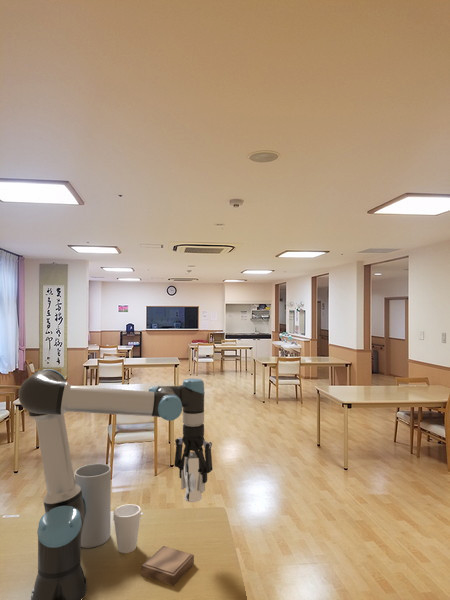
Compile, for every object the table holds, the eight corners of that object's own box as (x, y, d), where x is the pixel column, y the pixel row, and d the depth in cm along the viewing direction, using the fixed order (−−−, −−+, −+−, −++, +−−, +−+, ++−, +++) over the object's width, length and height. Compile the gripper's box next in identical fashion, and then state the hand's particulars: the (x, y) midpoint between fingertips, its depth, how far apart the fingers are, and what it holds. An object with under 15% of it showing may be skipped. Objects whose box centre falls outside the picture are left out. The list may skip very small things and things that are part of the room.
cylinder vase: (69, 538, 150) (69, 469, 151) (101, 526, 159) (101, 461, 159) (82, 553, 141) (83, 479, 142) (116, 539, 149) (116, 470, 150)
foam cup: (133, 557, 138) (133, 518, 139) (108, 554, 140) (108, 515, 141) (144, 541, 148) (144, 505, 148) (120, 539, 150) (121, 503, 150)
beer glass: (205, 495, 146) (205, 452, 146) (199, 504, 139) (199, 459, 139) (187, 492, 148) (187, 450, 148) (180, 501, 141) (180, 457, 141)
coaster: (141, 575, 129) (141, 564, 129) (163, 554, 140) (163, 545, 140) (173, 586, 124) (173, 575, 124) (193, 564, 135) (193, 554, 135)
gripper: (223, 424, 143) (222, 490, 143) (175, 417, 152) (175, 480, 151) (213, 429, 136) (213, 499, 136) (164, 422, 145) (163, 488, 144)
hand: (193, 489), depth 143 cm, fingers closed on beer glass, 7 cm apart
